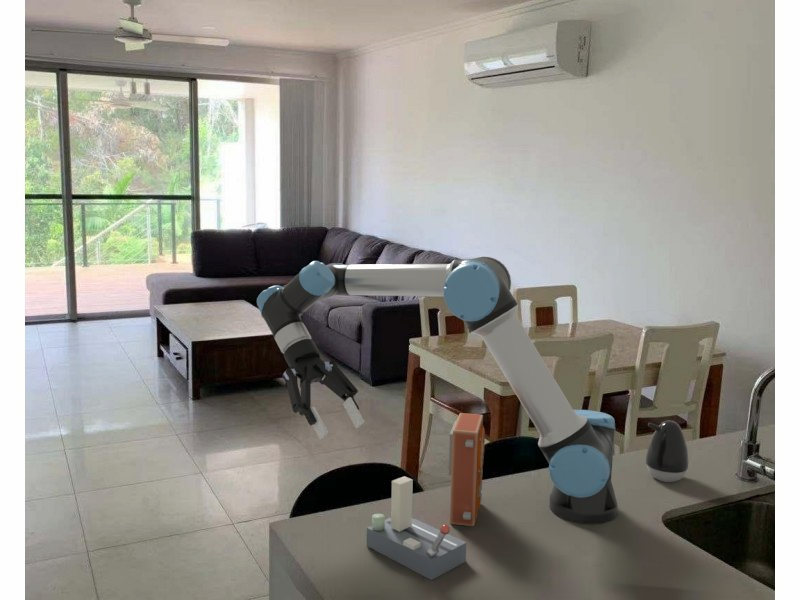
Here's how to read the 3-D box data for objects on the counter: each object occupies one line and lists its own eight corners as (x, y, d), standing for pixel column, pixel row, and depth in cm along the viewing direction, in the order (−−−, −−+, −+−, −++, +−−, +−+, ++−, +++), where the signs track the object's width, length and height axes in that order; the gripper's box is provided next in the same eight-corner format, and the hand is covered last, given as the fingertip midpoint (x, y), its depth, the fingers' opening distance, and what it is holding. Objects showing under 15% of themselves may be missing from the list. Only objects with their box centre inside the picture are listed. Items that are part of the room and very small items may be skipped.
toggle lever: (424, 552, 140) (440, 524, 137) (431, 548, 142) (447, 521, 138) (430, 559, 139) (446, 531, 136) (437, 555, 141) (453, 528, 137)
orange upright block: (483, 500, 174) (477, 529, 160) (453, 497, 175) (444, 526, 161) (486, 412, 171) (480, 434, 156) (456, 410, 172) (447, 431, 157)
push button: (369, 527, 151) (369, 516, 150) (378, 523, 152) (378, 512, 152) (378, 531, 149) (378, 520, 148) (387, 527, 151) (387, 516, 150)
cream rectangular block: (391, 527, 151) (391, 481, 149) (403, 522, 153) (404, 476, 152) (399, 531, 149) (400, 484, 147) (411, 525, 152) (412, 479, 150)
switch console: (366, 545, 152) (366, 524, 151) (400, 530, 159) (401, 509, 158) (431, 580, 139) (432, 556, 139) (465, 561, 146) (466, 538, 146)
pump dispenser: (640, 469, 195) (644, 413, 192) (681, 471, 193) (686, 415, 191) (647, 484, 185) (652, 426, 182) (691, 487, 183) (696, 428, 181)
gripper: (327, 348, 180) (371, 427, 171) (249, 364, 164) (293, 451, 156) (342, 330, 175) (388, 410, 167) (263, 344, 159) (309, 433, 151)
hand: (342, 430), depth 161 cm, fingers open, 10 cm apart
